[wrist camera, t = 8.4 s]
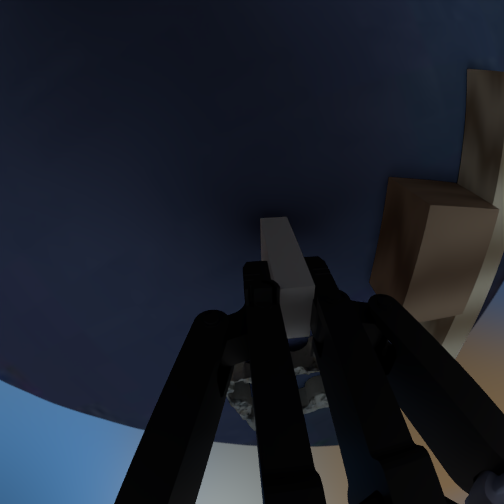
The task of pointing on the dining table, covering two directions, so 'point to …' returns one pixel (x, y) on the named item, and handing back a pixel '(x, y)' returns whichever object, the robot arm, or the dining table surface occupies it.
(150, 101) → the dining table surface
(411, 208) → the block
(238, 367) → the egg carton
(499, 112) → the board
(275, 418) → the robot arm
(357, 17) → the dining table surface
